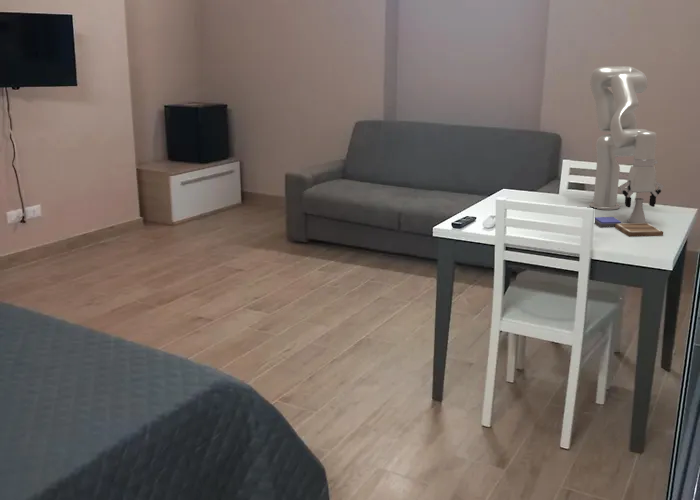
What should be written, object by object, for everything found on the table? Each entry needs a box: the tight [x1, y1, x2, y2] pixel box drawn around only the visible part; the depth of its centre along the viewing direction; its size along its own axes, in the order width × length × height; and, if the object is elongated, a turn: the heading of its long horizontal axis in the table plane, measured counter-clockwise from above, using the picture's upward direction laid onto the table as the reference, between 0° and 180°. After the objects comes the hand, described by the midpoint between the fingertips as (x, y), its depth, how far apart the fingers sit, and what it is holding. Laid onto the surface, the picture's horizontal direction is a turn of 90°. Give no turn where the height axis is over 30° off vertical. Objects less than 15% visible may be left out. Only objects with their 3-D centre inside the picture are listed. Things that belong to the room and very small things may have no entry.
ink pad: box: [594, 216, 623, 229], centre depth 284 cm, size 9×9×2 cm
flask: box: [627, 197, 647, 223], centre depth 285 cm, size 7×7×10 cm
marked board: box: [614, 222, 664, 238], centre depth 274 cm, size 13×13×2 cm
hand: (639, 206), depth 283 cm, fingers open, 9 cm apart
